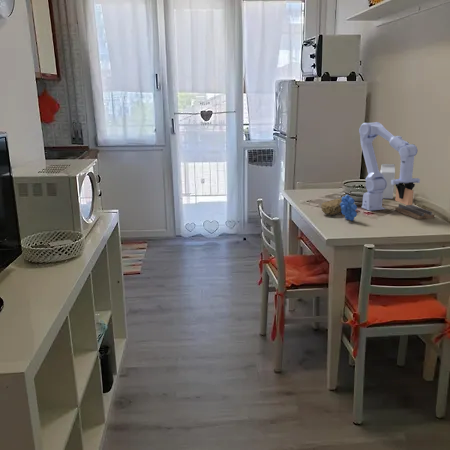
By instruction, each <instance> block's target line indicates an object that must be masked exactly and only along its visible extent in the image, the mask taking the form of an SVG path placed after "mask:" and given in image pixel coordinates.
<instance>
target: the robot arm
mask: <svg viewBox="0 0 450 450" xmlns="http://www.w3.org/2000/svg"><path fill="white" fill-rule="evenodd" d="M358 132H359V136H360V139H359V140H360V141H359V143H360V146H361V149H362V155H363V158H364V162H365V163H364V164H365V166H366V170H367V175H366V177H365V189H366V190H367V192H364V193H363V195H362V205H361V208H362V209H364V210H367V211H369V212H370V211H371V212H372V211H379V210H386V207H383V199H384V198H383V191H384V189H385V188H386V187H387V181H386V180H385V178H384V175H383V174H382V173H380V169H379V166H378V165H379V164H378V162H377V158H376V157H377V156H376V152H375V149H374V146H373V142H374V140H375V139H377V137H378V136H380V137H381V138H383V139H384V140H385V141H387V142H389V146H390V147H391V148H393V149H394V150H395V151H396V152H398V154H399V156H400V160H399V161H400V166H399V177H398V178H395V180H391V184H392V185H394V186H395V187H397V189H398V193H399V198H401V199H403V197H404V191H405V188H407V189H411V190H414V187H415V186H416V184H420V182H421V179H420V178H419V177H417V178H416V177H415V178H413V174H414V173H413V171H414V164H415V163H414V161H415V157H416V155H417V154H418V148H417V146H416V145H415V144H413V143H412V144H410V143H409V142H408V141H406V140H404V139H403V136H401V135H394V134H392V133H391V132H390V131H389V130H387V128H385V126H384V125H383V124H382V123H380V122H379V121H375V122H363V123H362V124H360V127H359V129H358Z"/></svg>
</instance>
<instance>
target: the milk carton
mask: <svg viewBox="0 0 450 450" xmlns="http://www.w3.org/2000/svg"><path fill="white" fill-rule="evenodd" d="M379 172H380V173H382V174H383V175H384V178H385V180H386V181H387V187H386V188H385V189H384V191H383V199H393V198H394V192H395V191H394V190H395V185H392V184H391V180H395V179H396V177H395V176H396V164H394V163H392V164H391V163H382V164H381V166H380V169H379Z"/></svg>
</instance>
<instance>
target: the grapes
mask: <svg viewBox="0 0 450 450" xmlns="http://www.w3.org/2000/svg"><path fill="white" fill-rule="evenodd" d="M341 198H342V199H341V200H342V202H341V203H340V206H341V212H340V213H341V214H342V215H344V219H346V220H347V221H351V222H353V221H354V220H355V217H357V216H358V212H357V211H356V210H357V209H358V206H357V204H356V203H355V199H354V198H353V197H351V195H350V194H346V195H345V196H342V197H341ZM354 203H355V204H354Z"/></svg>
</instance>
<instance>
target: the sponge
mask: <svg viewBox="0 0 450 450" xmlns="http://www.w3.org/2000/svg"><path fill="white" fill-rule="evenodd" d="M341 199H342V197H341V198H335V199H332V200H328V201H324V202H322V203H321V205H320V208H321V211H322V213H324V214H326V215H331V216H332V215H333V216H334V215H338V214H339V213H342V212H341V206H340V203H341V202H342V200H341ZM354 204H355V205H356V203H355V202H354Z"/></svg>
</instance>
